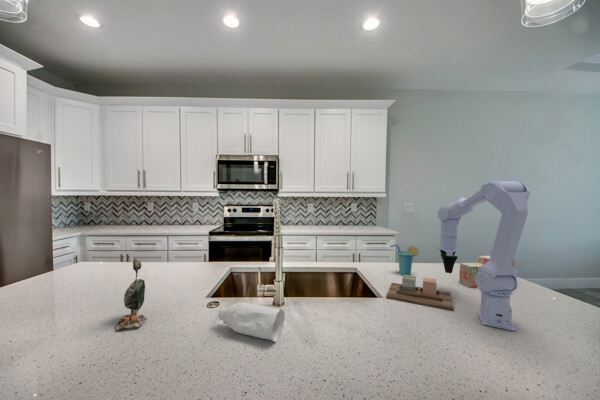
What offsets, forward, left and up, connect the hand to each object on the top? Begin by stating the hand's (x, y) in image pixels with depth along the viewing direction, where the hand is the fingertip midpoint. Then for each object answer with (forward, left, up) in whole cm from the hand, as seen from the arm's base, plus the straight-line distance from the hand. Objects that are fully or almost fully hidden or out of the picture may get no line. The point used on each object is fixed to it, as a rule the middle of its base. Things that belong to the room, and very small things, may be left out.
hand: (447, 270), depth 101 cm
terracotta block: (-9, +6, -8) cm, 14 cm away
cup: (+18, +18, -10) cm, 27 cm away
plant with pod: (-73, +86, -10) cm, 113 cm away
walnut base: (-9, +10, -9) cm, 16 cm away
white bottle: (-61, +51, -10) cm, 80 cm away
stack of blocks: (+20, -16, -10) cm, 28 cm away
